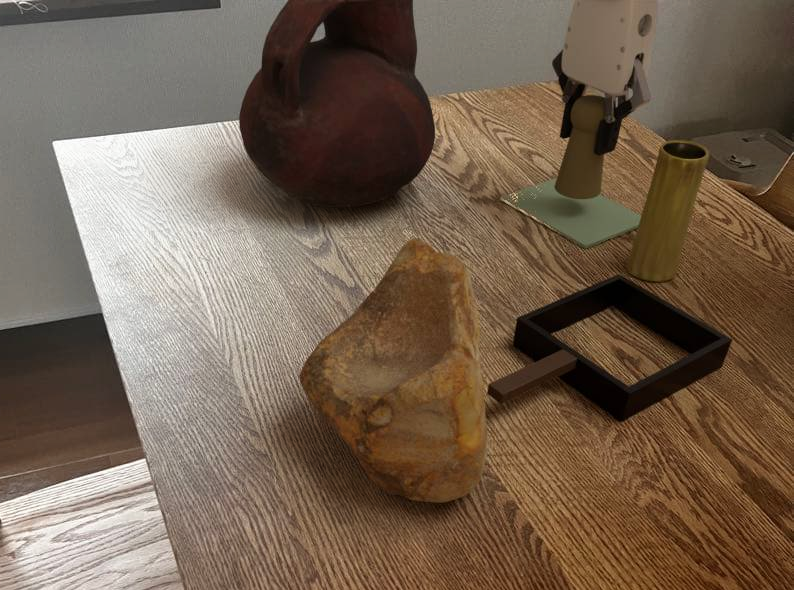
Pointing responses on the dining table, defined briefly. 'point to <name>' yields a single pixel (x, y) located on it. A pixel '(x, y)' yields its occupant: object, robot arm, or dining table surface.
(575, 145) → the olive pawn figure
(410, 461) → the rough brown rock
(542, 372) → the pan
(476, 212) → the dining table surface
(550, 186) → the mat
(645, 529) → the dining table surface
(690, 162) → the vase
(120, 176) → the dining table surface
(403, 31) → the jug
